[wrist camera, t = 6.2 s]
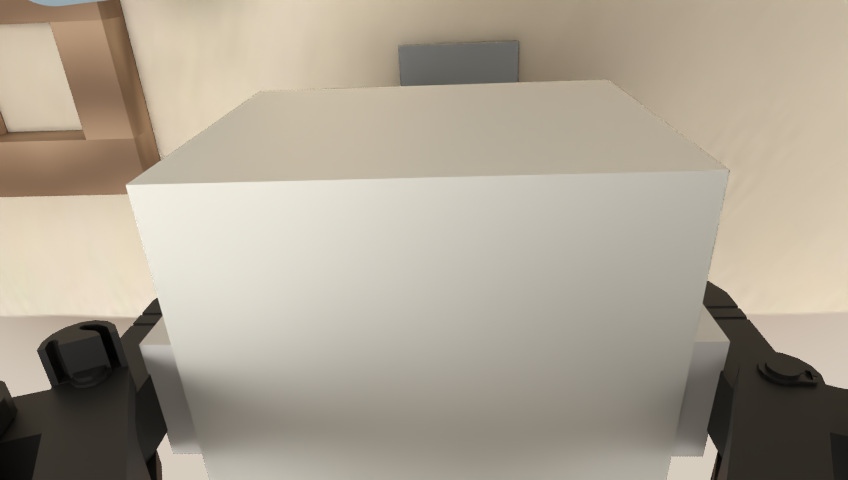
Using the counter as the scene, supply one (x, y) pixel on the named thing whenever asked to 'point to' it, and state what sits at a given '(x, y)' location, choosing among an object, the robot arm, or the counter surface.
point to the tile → (459, 63)
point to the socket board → (83, 109)
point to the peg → (62, 2)
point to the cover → (433, 281)
